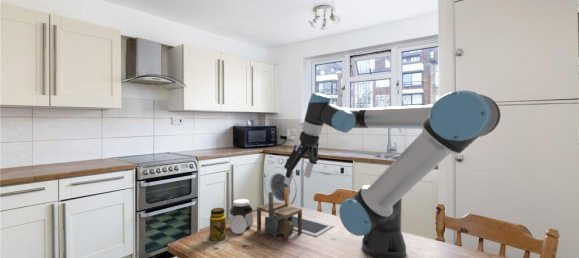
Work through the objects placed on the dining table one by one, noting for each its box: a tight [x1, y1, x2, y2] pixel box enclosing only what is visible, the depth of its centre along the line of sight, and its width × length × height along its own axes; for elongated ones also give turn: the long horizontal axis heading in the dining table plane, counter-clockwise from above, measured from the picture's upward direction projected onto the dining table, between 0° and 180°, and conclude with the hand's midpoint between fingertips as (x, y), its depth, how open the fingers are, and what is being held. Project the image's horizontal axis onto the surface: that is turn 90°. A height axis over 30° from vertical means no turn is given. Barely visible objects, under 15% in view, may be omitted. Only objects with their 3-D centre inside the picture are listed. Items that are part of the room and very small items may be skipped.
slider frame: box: [264, 186, 293, 237], centre depth 115 cm, size 6×11×17 cm, turn 141°
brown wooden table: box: [256, 201, 303, 242], centre depth 115 cm, size 16×10×10 cm, turn 51°
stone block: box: [277, 219, 295, 236], centre depth 115 cm, size 6×12×5 cm, turn 67°
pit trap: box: [293, 214, 334, 238], centre depth 123 cm, size 26×14×1 cm, turn 51°
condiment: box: [201, 207, 230, 245], centre depth 108 cm, size 7×8×12 cm
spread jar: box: [228, 198, 254, 235], centre depth 118 cm, size 12×11×12 cm
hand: (297, 180), depth 112 cm, fingers open, 13 cm apart
